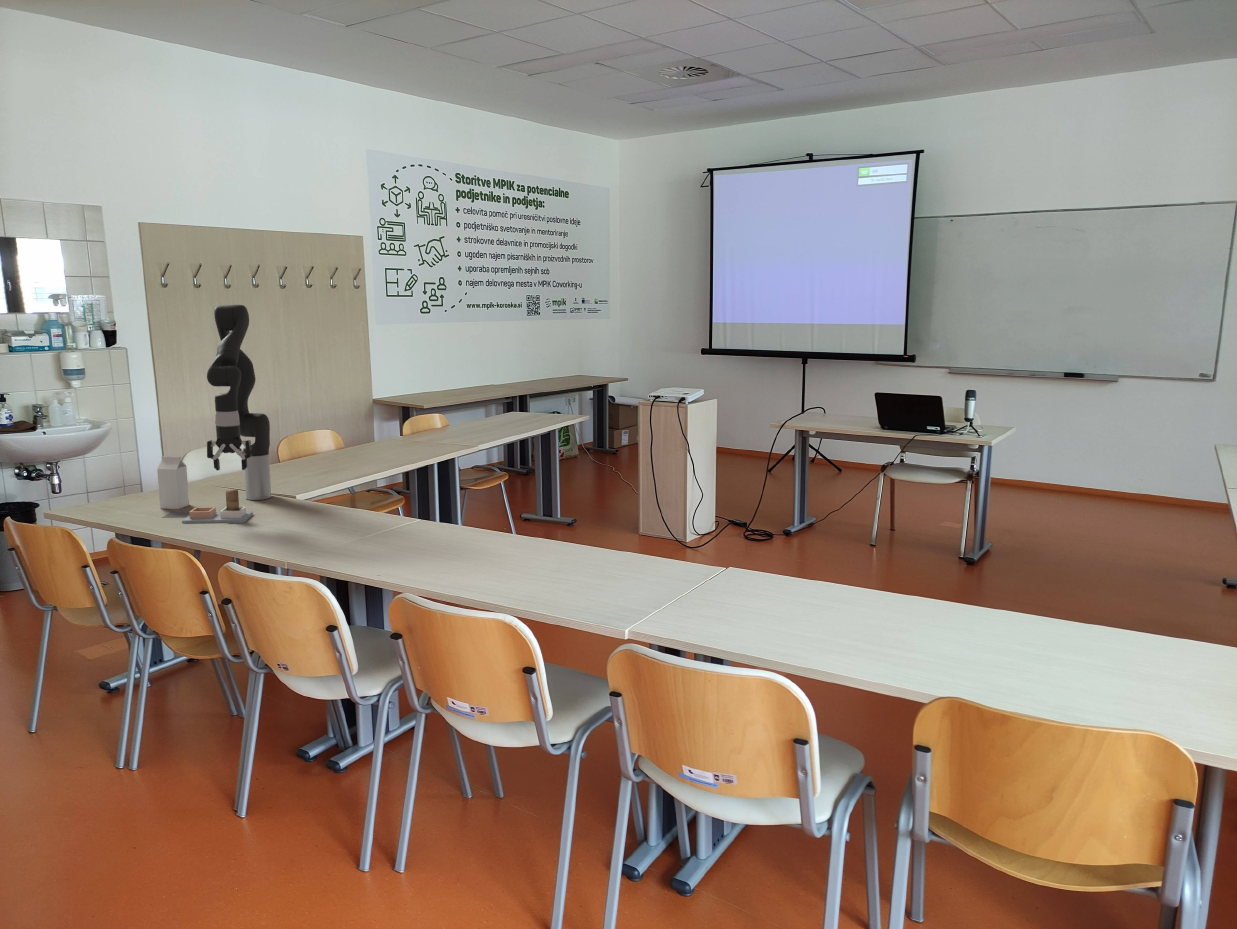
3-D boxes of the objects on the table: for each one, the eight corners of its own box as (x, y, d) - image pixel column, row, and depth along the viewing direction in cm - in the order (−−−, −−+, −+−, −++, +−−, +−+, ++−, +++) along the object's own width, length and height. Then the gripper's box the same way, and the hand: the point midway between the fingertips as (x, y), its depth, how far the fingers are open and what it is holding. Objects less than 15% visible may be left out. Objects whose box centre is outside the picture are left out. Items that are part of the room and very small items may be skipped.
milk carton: (179, 509, 311) (175, 458, 307) (160, 509, 311) (156, 458, 307) (189, 505, 318) (185, 455, 314) (170, 504, 318) (166, 454, 314)
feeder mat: (171, 512, 306) (170, 511, 306) (197, 512, 308) (197, 511, 308) (161, 518, 298) (161, 517, 297) (189, 518, 299) (189, 517, 299)
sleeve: (229, 514, 300) (227, 489, 299) (240, 514, 301) (239, 489, 299) (225, 517, 296) (224, 491, 295) (237, 517, 297) (236, 491, 295)
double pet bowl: (193, 515, 302) (193, 505, 302) (253, 514, 305) (252, 504, 305) (182, 524, 291) (181, 513, 290) (243, 522, 294) (243, 512, 293)
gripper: (252, 422, 297) (255, 467, 300) (209, 422, 295) (212, 468, 298) (246, 425, 290) (249, 471, 293) (202, 425, 288) (205, 472, 291)
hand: (230, 469), depth 296 cm, fingers open, 8 cm apart
